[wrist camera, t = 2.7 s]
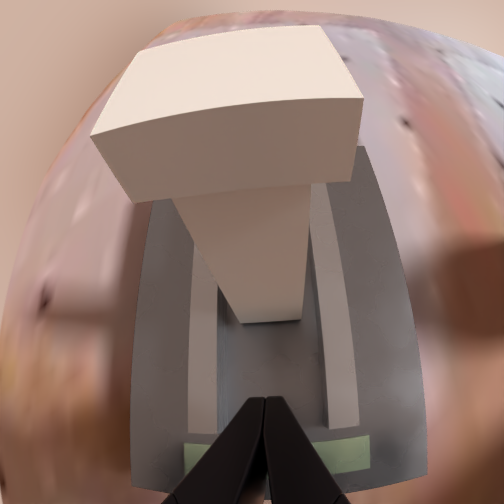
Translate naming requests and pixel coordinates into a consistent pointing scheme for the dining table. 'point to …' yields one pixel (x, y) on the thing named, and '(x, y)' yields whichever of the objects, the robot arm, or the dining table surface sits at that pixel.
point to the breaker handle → (237, 150)
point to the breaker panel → (283, 348)
